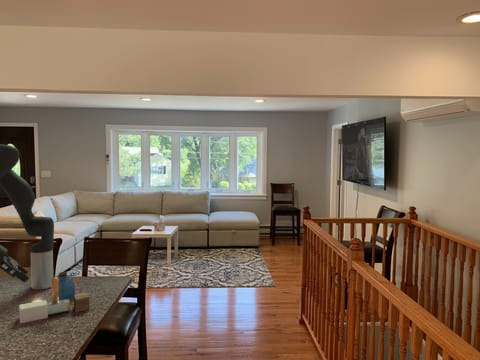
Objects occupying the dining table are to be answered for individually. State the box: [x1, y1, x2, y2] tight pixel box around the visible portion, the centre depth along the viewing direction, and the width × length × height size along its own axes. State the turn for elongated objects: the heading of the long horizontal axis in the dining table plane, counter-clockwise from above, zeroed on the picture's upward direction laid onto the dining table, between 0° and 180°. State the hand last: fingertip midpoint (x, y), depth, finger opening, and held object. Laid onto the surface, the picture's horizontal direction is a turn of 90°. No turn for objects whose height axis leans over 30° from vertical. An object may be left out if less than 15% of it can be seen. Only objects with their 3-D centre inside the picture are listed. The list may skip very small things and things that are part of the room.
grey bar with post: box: [47, 276, 71, 315], centre depth 140 cm, size 3×16×13 cm, turn 123°
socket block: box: [73, 292, 90, 313], centre depth 147 cm, size 5×5×5 cm
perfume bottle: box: [58, 271, 76, 302], centre depth 155 cm, size 6×6×12 cm
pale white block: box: [18, 299, 49, 324], centre depth 138 cm, size 5×9×5 cm, turn 123°
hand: (26, 276), depth 136 cm, fingers open, 8 cm apart
